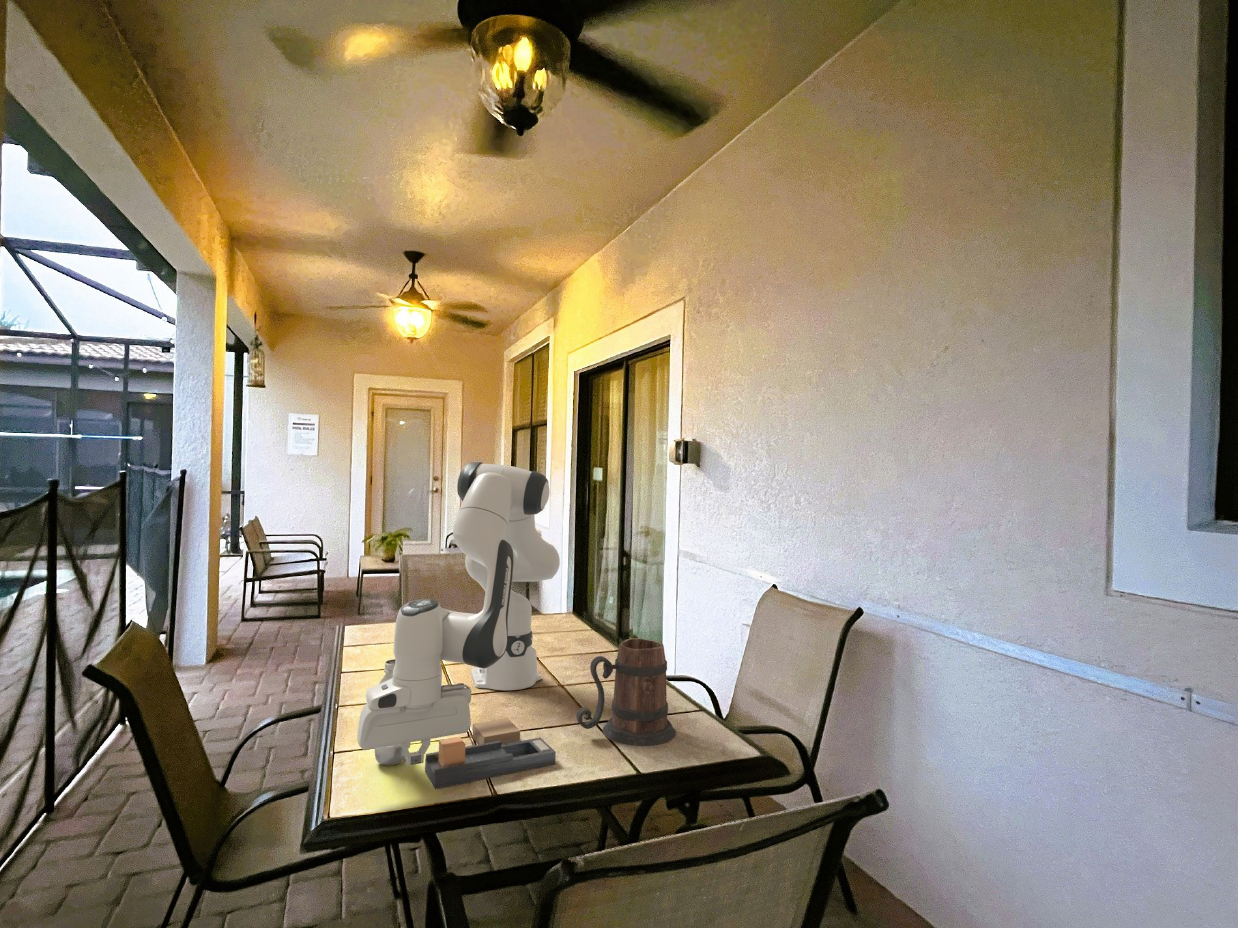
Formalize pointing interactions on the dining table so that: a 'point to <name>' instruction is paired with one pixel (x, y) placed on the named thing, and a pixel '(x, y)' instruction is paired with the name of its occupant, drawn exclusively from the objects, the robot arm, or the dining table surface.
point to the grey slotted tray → (490, 762)
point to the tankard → (634, 695)
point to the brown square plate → (496, 732)
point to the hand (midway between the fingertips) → (414, 763)
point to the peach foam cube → (451, 751)
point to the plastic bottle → (394, 752)
